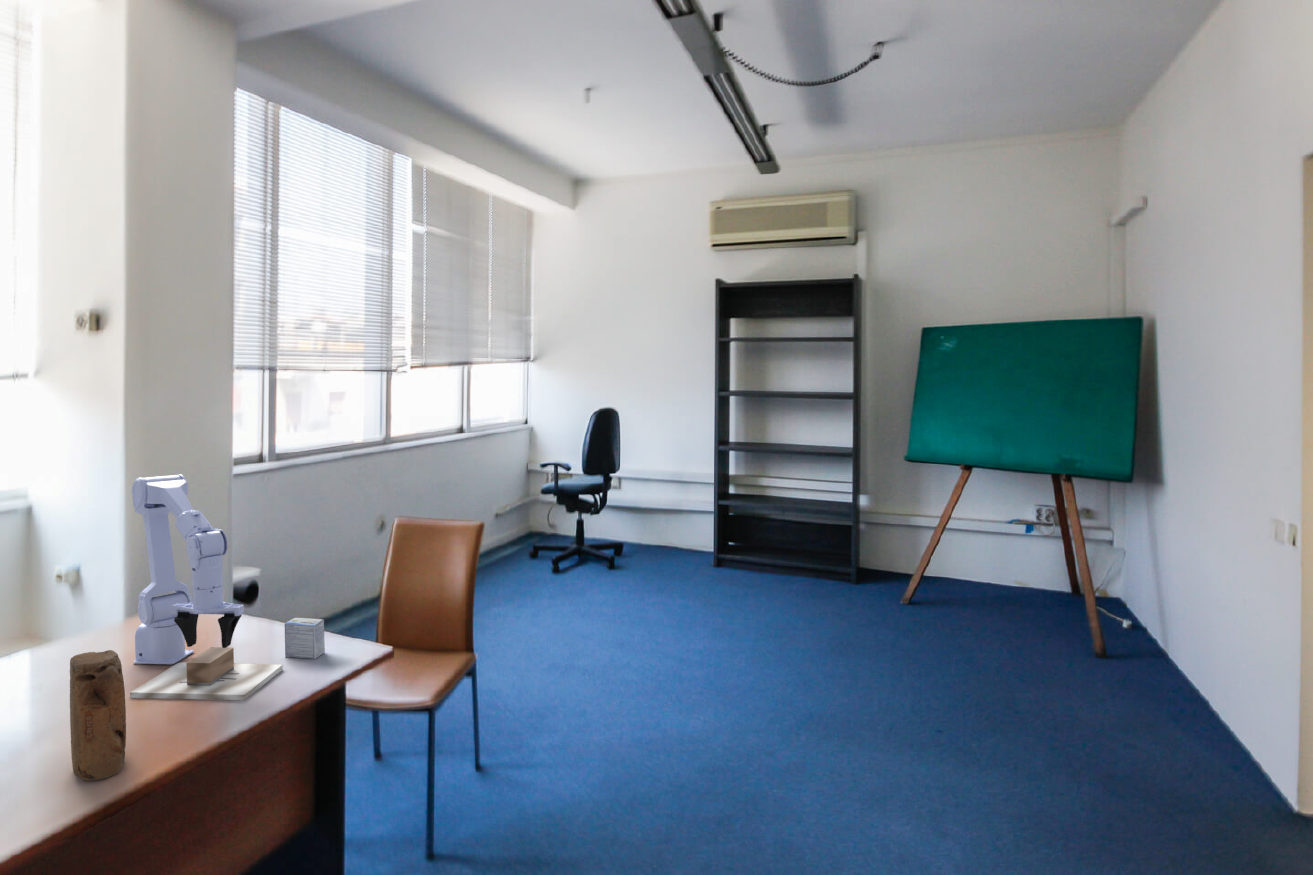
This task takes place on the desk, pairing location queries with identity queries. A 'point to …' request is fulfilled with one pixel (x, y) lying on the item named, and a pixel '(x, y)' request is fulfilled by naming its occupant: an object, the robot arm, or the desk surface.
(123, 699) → the block
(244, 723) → the desk surface
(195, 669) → the block
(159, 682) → the board
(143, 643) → the robot arm
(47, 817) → the desk surface
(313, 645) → the medicine box
